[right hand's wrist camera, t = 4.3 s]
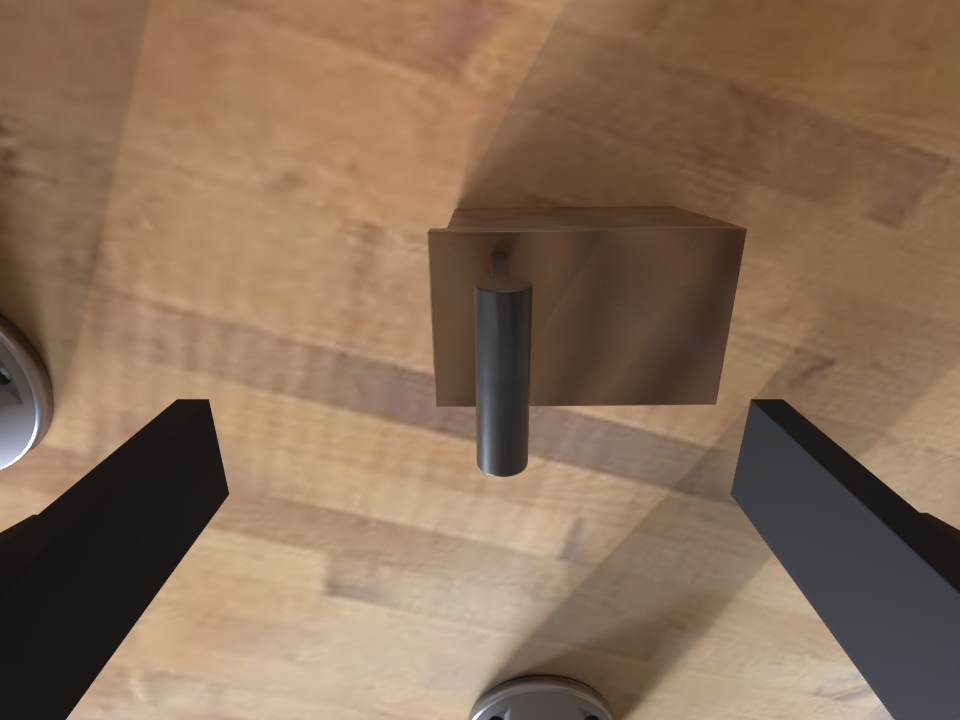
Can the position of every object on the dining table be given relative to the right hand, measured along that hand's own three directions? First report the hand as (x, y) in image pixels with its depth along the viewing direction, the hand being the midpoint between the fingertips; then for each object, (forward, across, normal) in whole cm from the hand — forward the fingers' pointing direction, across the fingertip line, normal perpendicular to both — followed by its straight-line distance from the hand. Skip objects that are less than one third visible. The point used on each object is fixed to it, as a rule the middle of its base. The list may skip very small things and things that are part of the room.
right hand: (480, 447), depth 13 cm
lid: (+16, -5, +2) cm, 17 cm away
